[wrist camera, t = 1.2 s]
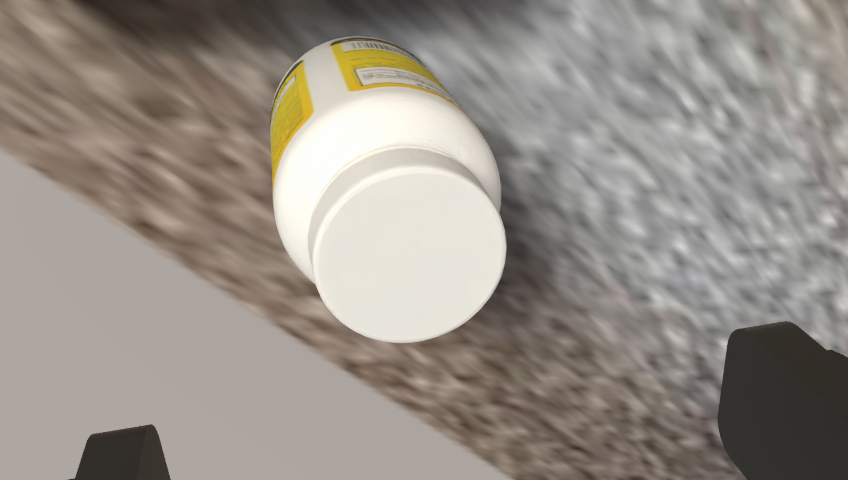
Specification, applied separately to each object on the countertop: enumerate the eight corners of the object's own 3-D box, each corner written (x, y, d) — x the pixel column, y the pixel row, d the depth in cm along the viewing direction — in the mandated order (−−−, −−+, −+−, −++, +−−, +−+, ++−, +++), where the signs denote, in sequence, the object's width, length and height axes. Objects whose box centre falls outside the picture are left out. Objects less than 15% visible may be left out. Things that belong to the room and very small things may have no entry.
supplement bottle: (321, 227, 25) (348, 412, 16) (237, 82, 23) (216, 209, 14) (468, 155, 25) (575, 302, 16) (400, 0, 23) (481, 77, 14)
